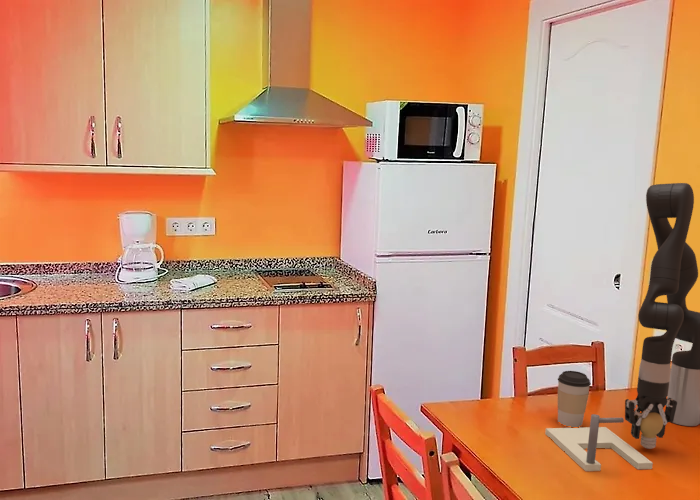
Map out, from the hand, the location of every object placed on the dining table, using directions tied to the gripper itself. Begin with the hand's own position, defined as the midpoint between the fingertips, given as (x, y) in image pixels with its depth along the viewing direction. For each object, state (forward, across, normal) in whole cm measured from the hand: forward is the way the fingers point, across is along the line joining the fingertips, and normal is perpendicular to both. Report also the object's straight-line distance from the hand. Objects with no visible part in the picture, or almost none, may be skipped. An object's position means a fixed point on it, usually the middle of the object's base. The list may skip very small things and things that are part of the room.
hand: (647, 437), depth 181 cm
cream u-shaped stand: (+3, +14, 0) cm, 15 cm away
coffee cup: (+4, +12, -18) cm, 22 cm away
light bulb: (+3, 0, 0) cm, 3 cm away
